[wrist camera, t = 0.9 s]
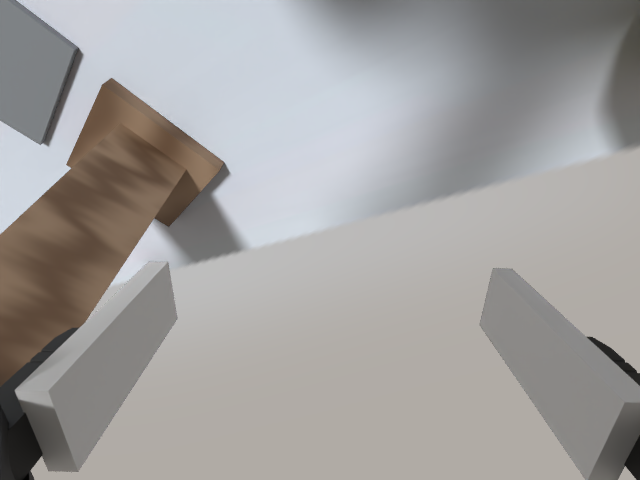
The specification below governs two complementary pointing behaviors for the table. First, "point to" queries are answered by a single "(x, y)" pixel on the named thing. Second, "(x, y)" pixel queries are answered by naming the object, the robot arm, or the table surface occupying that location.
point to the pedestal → (93, 220)
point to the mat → (31, 70)
